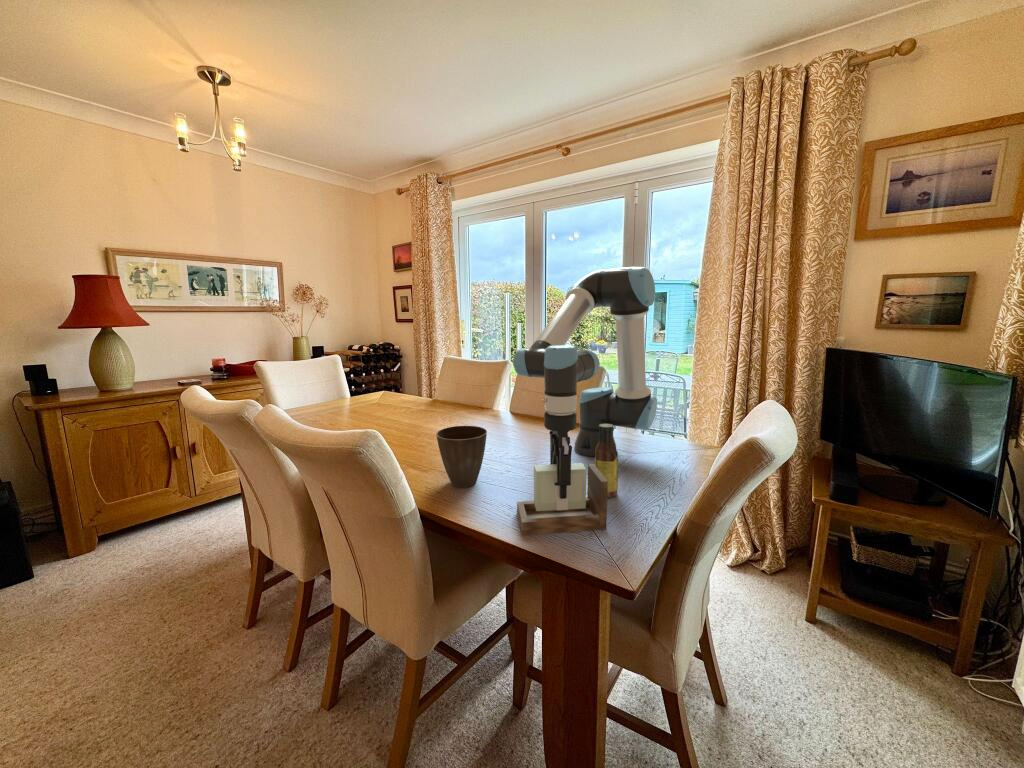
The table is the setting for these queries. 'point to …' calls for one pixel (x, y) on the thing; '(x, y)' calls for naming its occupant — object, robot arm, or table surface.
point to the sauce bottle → (607, 458)
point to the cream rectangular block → (547, 489)
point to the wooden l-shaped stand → (569, 511)
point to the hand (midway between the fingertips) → (559, 504)
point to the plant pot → (462, 453)
